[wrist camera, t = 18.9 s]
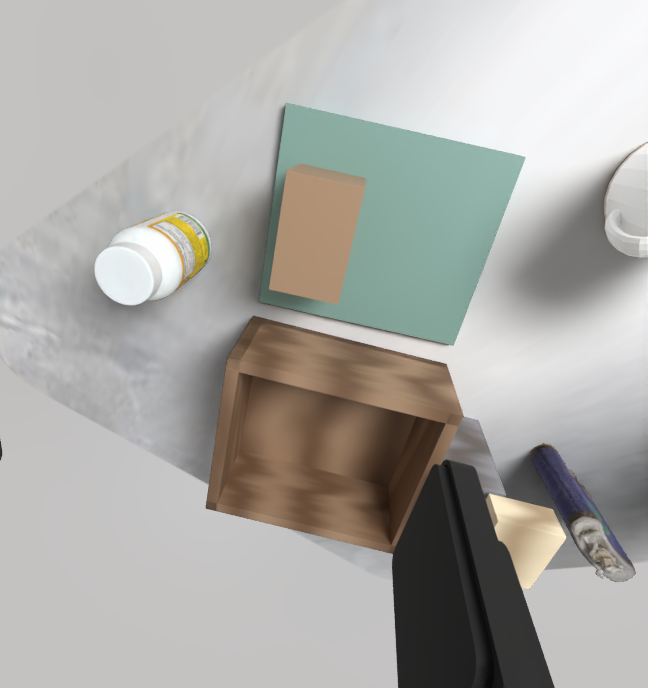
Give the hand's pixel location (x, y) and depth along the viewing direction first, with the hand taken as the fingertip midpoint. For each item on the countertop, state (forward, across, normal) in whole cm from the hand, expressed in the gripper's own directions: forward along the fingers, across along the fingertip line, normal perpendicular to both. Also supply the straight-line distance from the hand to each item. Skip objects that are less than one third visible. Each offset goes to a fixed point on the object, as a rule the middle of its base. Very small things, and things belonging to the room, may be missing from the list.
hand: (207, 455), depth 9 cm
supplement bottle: (+28, +12, +5) cm, 31 cm away
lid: (+29, -4, 0) cm, 29 cm away
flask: (+28, -28, +19) cm, 45 cm away
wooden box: (+28, -7, +18) cm, 34 cm away
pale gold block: (+19, -20, +18) cm, 32 cm away
